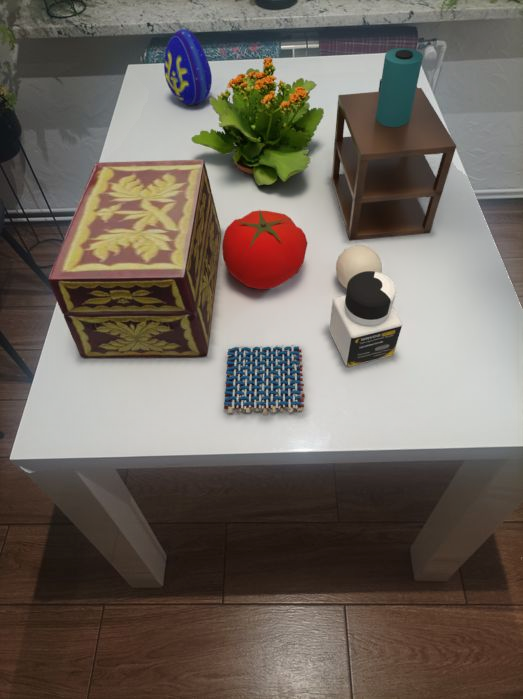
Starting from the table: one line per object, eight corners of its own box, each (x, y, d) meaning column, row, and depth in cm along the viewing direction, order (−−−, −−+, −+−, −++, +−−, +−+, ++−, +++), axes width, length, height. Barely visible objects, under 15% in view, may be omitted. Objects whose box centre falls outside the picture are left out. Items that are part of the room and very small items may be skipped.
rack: (402, 172, 92) (421, 87, 79) (429, 233, 81) (456, 145, 69) (331, 179, 92) (338, 94, 79) (349, 240, 81) (361, 154, 68)
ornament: (163, 102, 113) (148, 31, 101) (191, 87, 117) (180, 17, 105) (194, 116, 109) (183, 43, 97) (223, 100, 113) (215, 28, 100)
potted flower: (179, 187, 93) (160, 95, 79) (215, 124, 106) (204, 37, 92) (305, 201, 88) (309, 107, 74) (325, 134, 102) (332, 44, 88)
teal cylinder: (404, 108, 75) (417, 44, 68) (413, 125, 72) (428, 59, 65) (372, 111, 75) (381, 47, 68) (380, 128, 72) (390, 63, 65)
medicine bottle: (346, 368, 66) (356, 311, 56) (328, 330, 70) (334, 271, 60) (393, 356, 67) (411, 298, 57) (373, 318, 71) (386, 259, 61)
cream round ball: (365, 262, 78) (371, 230, 72) (384, 293, 74) (392, 261, 68) (327, 272, 77) (330, 240, 72) (344, 303, 73) (348, 272, 67)
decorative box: (119, 233, 85) (91, 157, 73) (221, 231, 84) (210, 153, 72) (80, 358, 69) (36, 286, 57) (207, 357, 68) (190, 284, 56)
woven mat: (305, 415, 62) (305, 407, 60) (224, 415, 62) (222, 408, 60) (302, 350, 68) (302, 342, 66) (228, 351, 68) (227, 343, 67)
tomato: (222, 301, 74) (214, 250, 66) (227, 248, 81) (220, 196, 73) (307, 300, 74) (310, 248, 65) (305, 246, 81) (307, 193, 72)
